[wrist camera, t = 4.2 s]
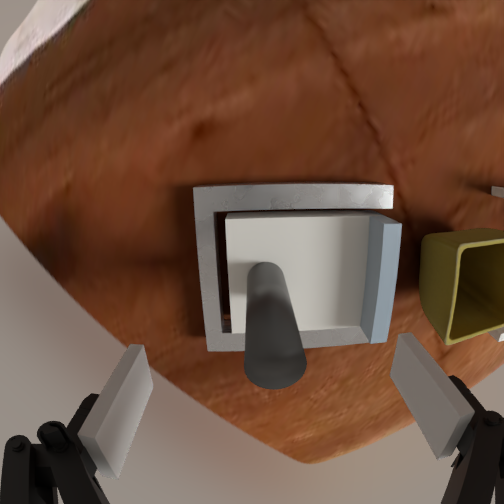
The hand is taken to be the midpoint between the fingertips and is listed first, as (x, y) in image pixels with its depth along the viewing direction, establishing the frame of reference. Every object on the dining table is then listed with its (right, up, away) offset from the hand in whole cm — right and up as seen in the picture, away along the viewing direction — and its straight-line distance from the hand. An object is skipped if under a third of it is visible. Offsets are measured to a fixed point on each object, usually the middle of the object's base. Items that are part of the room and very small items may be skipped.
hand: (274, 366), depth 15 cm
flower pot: (+19, +5, +14) cm, 24 cm away
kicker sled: (+4, +4, +13) cm, 15 cm away
